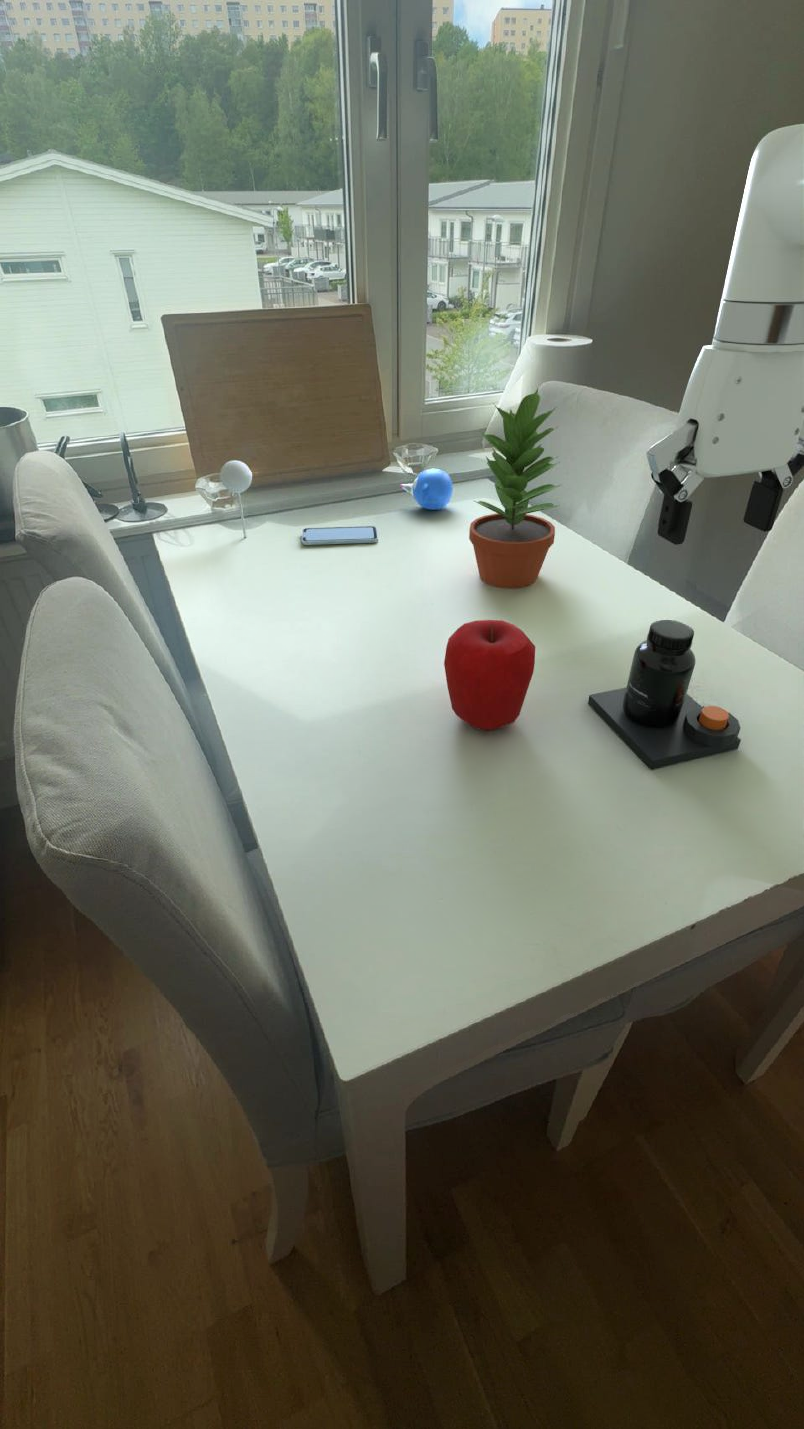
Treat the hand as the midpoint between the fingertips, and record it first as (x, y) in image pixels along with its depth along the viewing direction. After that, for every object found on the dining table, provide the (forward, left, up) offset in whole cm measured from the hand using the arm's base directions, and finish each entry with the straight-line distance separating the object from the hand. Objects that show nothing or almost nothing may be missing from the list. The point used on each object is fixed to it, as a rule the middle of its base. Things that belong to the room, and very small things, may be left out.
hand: (713, 533), depth 64 cm
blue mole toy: (+89, -3, -27) cm, 93 cm away
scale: (+4, -4, -27) cm, 27 cm away
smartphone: (+78, +19, -27) cm, 85 cm away
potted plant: (+50, -5, -27) cm, 57 cm away
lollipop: (+85, +37, -27) cm, 97 cm away
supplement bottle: (+5, -3, -26) cm, 26 cm away
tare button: (0, -7, -24) cm, 25 cm away
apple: (+12, +16, -27) cm, 34 cm away
